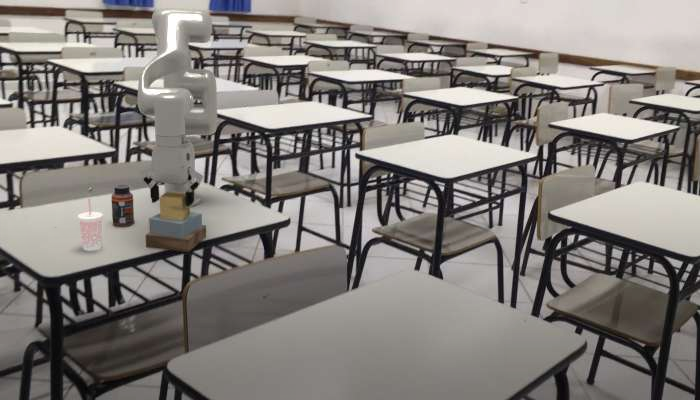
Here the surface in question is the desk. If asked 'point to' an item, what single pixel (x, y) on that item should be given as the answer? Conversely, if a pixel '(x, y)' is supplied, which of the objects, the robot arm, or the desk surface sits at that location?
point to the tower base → (176, 240)
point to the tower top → (175, 225)
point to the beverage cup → (91, 229)
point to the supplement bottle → (122, 206)
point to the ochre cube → (174, 206)
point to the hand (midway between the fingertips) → (172, 203)
